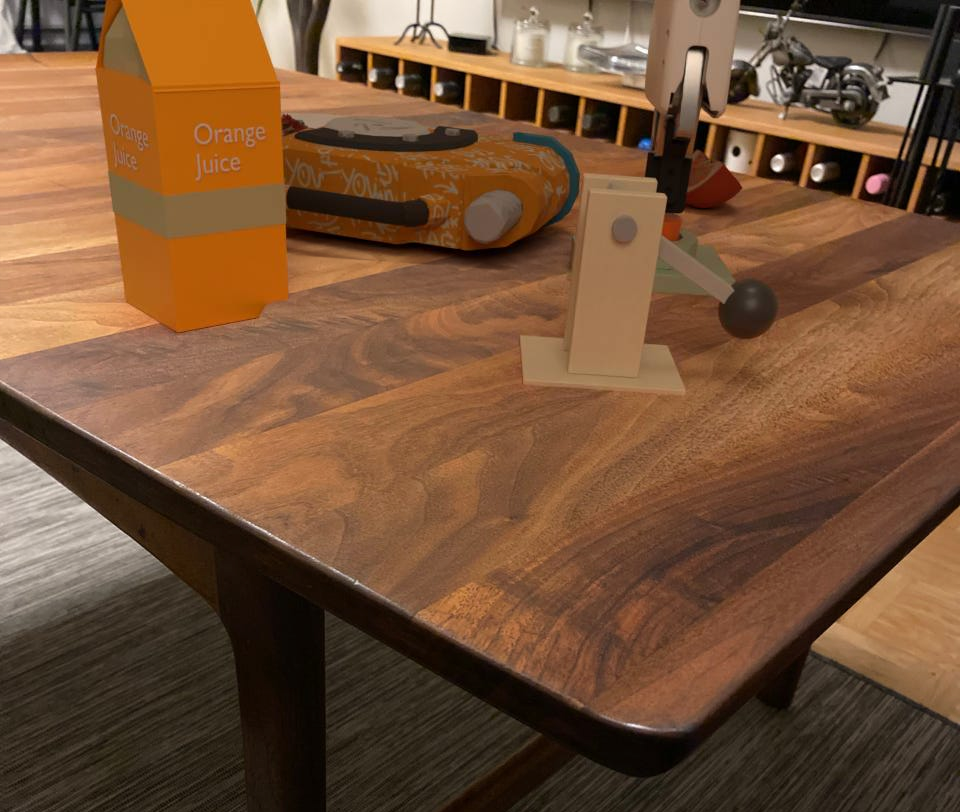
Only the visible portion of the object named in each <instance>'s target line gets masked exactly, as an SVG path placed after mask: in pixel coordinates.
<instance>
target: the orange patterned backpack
mask: <svg viewBox="0 0 960 812" xmlns="http://www.w3.org/2000/svg"><path fill="white" fill-rule="evenodd" d="M347 116H348V117H341V118H333V119H332V120H330V121H329V122H328V123H327V124H326V125H325V126H322V127H319V128H316V129H310V128H307V129H304V130H301V131H298V132H296V133H293V134H290V135H287V136H284V137H282V148H283V173H284V183H285V202H286V227H287V228H292V229H300V230H303V231H305V230H306V231H311V232H312V231H313V232H317V233H323V234H329V235H335V236H336V235H337V236H341V237H342V236H343V237H348V238H353V239H354V238H356V239H362V240H367V241H374V242H380V243H385V244H392V245H402V244H409V243H419V244H424V245H431V246H436V247H443V248H450V249H457V250H458V249H460V250H462V251H475V250H486V249H497V248H507V247H508V246H510V245H511V244H513V243H515V242H517V241H519V240H522V239H523V238H527V237H528V236H530V235H533V234H535V233H536V232H537V231H538V230H543V229H544V228H547V227H549V226H551V225H553V224H556V223H559V222H560V221H562V220H563V219H564V218H565V217H566V216H567V215H568V214H569V213H570V212H571V211H572V208H573V207H574V204H575V202H576V201H577V199H578V196H580V195H579V194H580V180H581V178H580V177H581V172H580V170H579V167H578V164H577V162H576V160H575V157H574V155H573V153H572V152H571V151H570V150H569V149H568V148H567V147H566V146H564V145H563V144H562V143H561V142H560V141H559V140H558V139H556V138H555V137H554V136H551V135H544V134H535V133H528V132H521V131H513V132H512V136H508V135H502V134H494V133H492V134H491V133H486V132H485V133H484V132H477V131H476V130H474V129H468V128H467V129H466V128H460V127H452V126H445V125H438V126H436V127H435V128H429V127H428V126H427V127H426V126H425V125H422V124H421V123H419V122H416V121H414V120H408V119H401V118H394V117H387V116H377V115H376V116H374V115H373V116H369V115H347Z"/></svg>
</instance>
